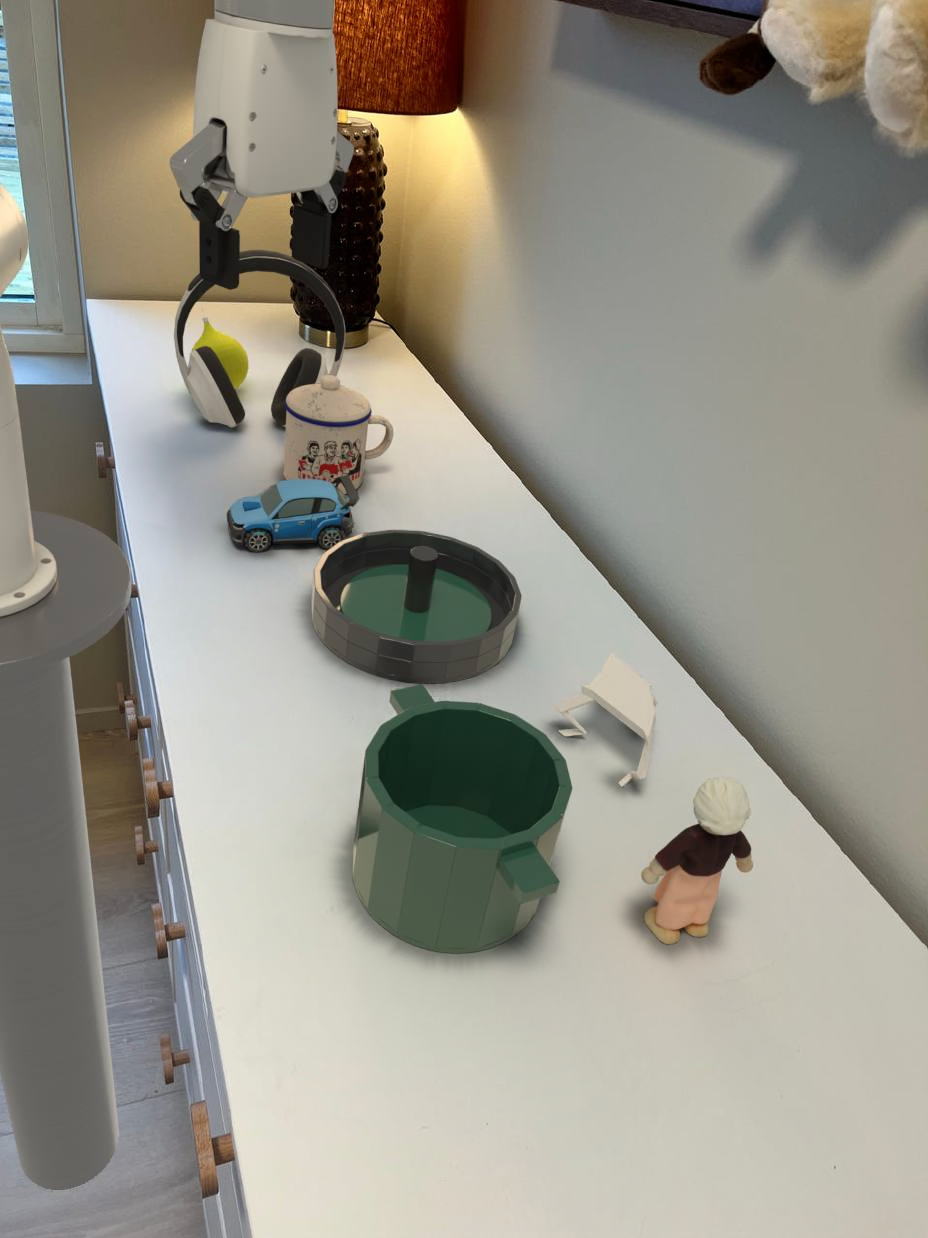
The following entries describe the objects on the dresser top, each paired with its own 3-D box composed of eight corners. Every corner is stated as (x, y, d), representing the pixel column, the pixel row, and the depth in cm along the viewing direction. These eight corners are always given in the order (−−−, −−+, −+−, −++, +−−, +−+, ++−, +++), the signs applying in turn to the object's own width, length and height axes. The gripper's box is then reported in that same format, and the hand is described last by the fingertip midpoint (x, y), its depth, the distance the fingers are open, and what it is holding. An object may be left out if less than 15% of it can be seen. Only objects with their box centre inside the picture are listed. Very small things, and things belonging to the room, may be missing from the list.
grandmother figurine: (696, 885, 67) (754, 749, 60) (733, 928, 64) (798, 791, 57) (606, 919, 63) (657, 779, 56) (641, 967, 61) (699, 826, 53)
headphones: (180, 439, 110) (176, 258, 98) (171, 408, 116) (167, 234, 105) (345, 437, 117) (360, 267, 105) (329, 408, 123) (341, 245, 112)
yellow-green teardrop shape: (186, 379, 124) (185, 300, 118) (242, 379, 126) (244, 302, 121) (193, 402, 118) (192, 321, 113) (252, 401, 121) (254, 322, 115)
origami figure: (529, 705, 80) (541, 658, 77) (615, 690, 84) (629, 644, 81) (602, 809, 72) (618, 760, 69) (694, 787, 75) (713, 740, 72)
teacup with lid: (291, 500, 102) (296, 395, 96) (273, 460, 109) (277, 360, 102) (399, 495, 107) (412, 395, 100) (376, 457, 113) (386, 361, 107)
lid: (375, 674, 80) (383, 608, 76) (317, 585, 89) (321, 522, 85) (517, 646, 86) (530, 584, 82) (448, 565, 95) (458, 506, 91)
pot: (419, 1019, 55) (441, 912, 50) (310, 801, 68) (319, 696, 63) (599, 951, 61) (637, 848, 56) (468, 761, 74) (489, 662, 68)
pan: (358, 702, 77) (362, 662, 75) (283, 579, 90) (285, 542, 88) (550, 661, 86) (559, 625, 83) (457, 554, 98) (462, 520, 96)
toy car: (224, 523, 96) (224, 472, 93) (342, 519, 100) (347, 470, 97) (232, 555, 92) (233, 502, 89) (356, 549, 96) (361, 498, 93)
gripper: (316, -1, 70) (304, 244, 80) (127, -17, 57) (139, 277, 67) (401, 17, 67) (377, 269, 77) (221, 5, 54) (219, 309, 64)
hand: (266, 273), depth 72 cm, fingers open, 9 cm apart
